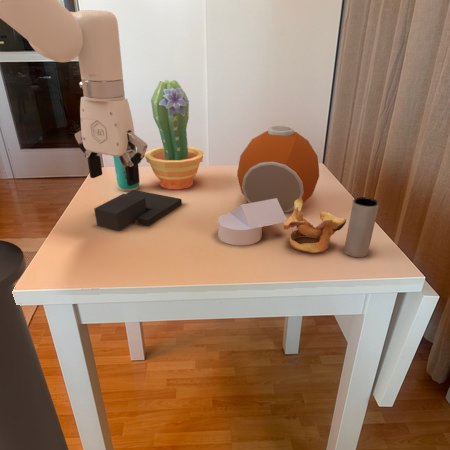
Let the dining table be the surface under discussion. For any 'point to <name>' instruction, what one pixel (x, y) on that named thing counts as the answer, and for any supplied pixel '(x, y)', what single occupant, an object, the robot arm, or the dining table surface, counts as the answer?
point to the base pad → (155, 206)
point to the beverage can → (123, 174)
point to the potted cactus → (173, 138)
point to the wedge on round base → (249, 222)
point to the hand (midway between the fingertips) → (114, 180)
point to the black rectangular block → (120, 211)
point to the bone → (312, 229)
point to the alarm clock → (278, 168)
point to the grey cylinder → (361, 226)
